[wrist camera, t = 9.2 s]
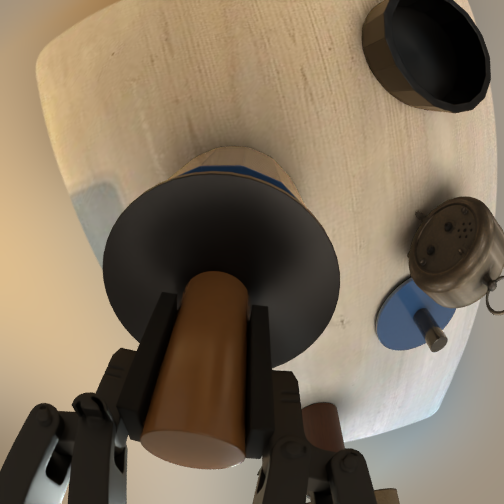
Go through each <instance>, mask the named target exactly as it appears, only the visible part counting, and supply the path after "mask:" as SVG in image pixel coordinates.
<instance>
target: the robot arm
mask: <svg viewBox="0 0 504 504" xmlns="http://www.w3.org/2000/svg"><path fill="white" fill-rule="evenodd" d="M176 313H177V294H173V293H166V292H162V293H161V295H160V297H159V299H158V302H157V304H156V306H155V309H154V311H153V313H152V316H151V318H150V320H149V323H148V325H147V327H146V330H145V332H144V334H143V337H142V339H141V342H140V344H139V347H138V349H137V351H133V350H129V349H124V348H120V349H119V350H118V351H117V352H116V353H115V354H113V356H112V358H111V360H110V362H109V364H108V367H107V369H106V371H105V374H104V376H103V378H102V380H101V382H100V384H99V387H98V389H97V391H96V394H95V393H83V394H81V395H79V396H77V397H76V398H75V399H74V401H73V403H72V406H73V408H74V410H75V411H76V412H65V411H57V409H56V408H55V407H54V406H52V405H50V404H47V403H41V404H38V405H36V406H35V407H34V408H33V409H32V411H31V412H30V414H29V416H28V417H27V419H26V421H25V423H24V425H23V427H22V429H21V430H20V432H19V434H18V436H17V438H16V440H15V442H14V444H13V446H12V448H11V450H10V452H9V454H8V456H7V458H6V460H5V462H4V464H3V466H2V469H1V471H0V504H61V502H62V500H63V497H64V494H65V491H66V489H67V486H68V483H69V493H68V504H126V503H127V501H126V500H127V498H126V484H127V482H126V481H127V445H126V441H127V437H128V435H129V437H130V439H131V440H135V441H139V442H140V434H141V430H142V426H143V422H144V419H145V415H146V411H147V408H148V404H149V401H150V397H151V394H152V390H153V387H154V383H155V380H156V377H157V373H158V370H159V367H160V363H161V360H162V357H163V354H164V350H165V347H166V344H167V341H168V338H169V335H170V332H171V328H172V325H173V322H174V319H175V316H176ZM246 443H247V445H246V458H255V459H260V458H261V457H262V467H261V468H260V470H259V472H258V474H257V475H259V477H258V482H257V486H256V491H255V495H254V500H253V504H305V503H306V495H307V491H309V494H310V500H311V504H377V501H376V497H375V493H374V489H373V485H372V482H371V478H370V475H369V471H368V468H367V464H366V461H365V459H364V457H363V455H362V454H361V453H360V452H359V451H357V450H354V449H346V448H345V449H342V450H339V451H338V452H333V451H328V450H324V449H321V448H318V447H315V446H314V445H312V444H311V443H310V442H309V441H308V440H307V438H306V436H305V433H304V426H303V418H302V410H301V402H300V394H299V386H298V381H297V379H296V377H295V376H294V374H293V373H292V371H276V370H272V362H271V345H270V328H269V312H268V306H261V305H252V309H251V314H250V319H249V340H248V388H247V437H246Z"/></svg>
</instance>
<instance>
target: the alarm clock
mask: <svg viewBox="0 0 504 504" xmlns="http://www.w3.org/2000/svg"><path fill="white" fill-rule="evenodd" d="M415 215H416V216H417V217H418V218H419V219H420V220H421V221H422V224H421V225H420V227H419V229H418V230H417V232H416V234H415V236H414V239H413V241H412V244H411V248H410V252H409V253H408V258H409V269H410V274H411V277H412V279H413V281H414V282H415V284H416V285H417V286H418V287H419V288H420V289H421V290H422V291H423V292H425V293H426V294H427V295H428V296H429V297H430V298H432V299H433V300H434V301H435V302H436V303H437V304H439V305H441V306H443V307H446V308H461V307H465V306H468V305H470V304H473V303H474V302H476V301H478V300H479V299H481V298H482V297H483V296H484V295H485V294H486V305H487V308H488V310H489V311H490V312H491V313H492V314H493V315H503V314H504V310H503V311H494V310H493V309H492V308H491V307H490V305H489V302H488V296H489V292H490V291H494V290H495V289H496V287H497V284H496V283H497V282H498V281H499V280H501V279H504V276H500V275H501V272H502V269H503V267H504V232H503V230H502V228H501V227H500V225H499V224H498V223H497V221H496V219H495V218H494V216H493V215H492V213H491V212H490V210H489V209H488V207H487V206H486V205H485V204H484V203H483V202H481V201H480V200H478V199H475V198H472V197H457V198H453V199H450V200H448V201H446V202H444V203H443V204H441V205H439V206H438V207H437V208H435V209H434V210H433V211H432V212H431V213H430V214H429V215H428V216H427V217H426V216H425V215H424V214H422V213H421V212H419V211H417V212H416V213H415ZM499 276H500V277H499Z"/></svg>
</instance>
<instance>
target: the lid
mask: <svg viewBox="0 0 504 504" xmlns="http://www.w3.org/2000/svg"><path fill="white" fill-rule="evenodd" d="M103 279H104V284H105V289H106V293H107V296H108V299H109V302H110V304H111V306H112V308H113V310H114V312H115V314H116V316H117V317H118V319H119V320H120V322H121V323H122V325H123V326H124V327H125V329H127V331H128V332H129V333H130V334H131V335H132V336H133V337H134V338H135V339H136V340H137V341H138V342H139V343H140V342H141V339H142V337H143V334H144V332H145V330H146V327H147V325H148V323H149V320H150V318H151V316H152V313H153V311H154V309H155V306H156V304H157V302H158V299H159V297H160V295H161V293H162V292H166V293H173V294H177V313H176V316H175V319H174V322H173V325H172V328H171V332H170V335H169V338H168V341H167V344H166V347H165V350H164V354H163V357H162V360H161V363H160V367H159V370H158V373H157V377H156V380H155V383H154V387H153V390H152V394H151V397H150V401H149V404H148V408H147V411H146V415H145V419H144V422H143V426H142V430H141V434H140V442H141V444H142V446H143V447H144V448H145V449H146V450H147V451H149V452H150V453H152V454H153V455H155V456H157V457H159V458H161V459H163V460H165V461H168V462H170V463H174V464H177V465H181V466H185V467H190V468H198V469H223V468H229V467H233V466H236V465H238V464H240V463H242V462H243V461H244V460H245V458H246V445H247V443H246V437H247V388H248V340H249V319H250V314H251V309H252V305H261V306H268V312H269V328H270V345H271V362H272V368H274V367H277V366H279V365H282V364H284V363H286V362H288V361H290V360H291V359H293V358H295V357H296V356H298V355H299V354H301V353H302V352H304V351H305V350H306V349H307V348H308V347H310V346H311V345H312V344H313V343H314V342H315V341H316V340H317V338H318V337H319V336H320V335H321V334H322V333H323V331H324V330H325V328H326V327H327V325H328V324H329V322H330V320H331V318H332V315H333V313H334V311H335V308H336V304H337V301H338V296H339V289H340V271H339V266H338V260H337V256H336V254H335V251H334V248H333V245H332V243H331V241H330V239H329V237H328V236H327V234H326V232H325V230H324V228H323V227H322V225H321V224H320V223H319V221H318V220H317V219H316V217H315V216H314V215H313V214H312V213H311V212H310V211H309V210H308V209H307V208H306V207H305V206H304V205H303V204H302V203H301V202H300V201H299V200H297V199H296V198H294V197H293V196H292V195H290V194H289V193H287V192H286V191H284V190H282V189H281V188H279V187H277V186H275V185H273V184H271V183H269V182H266V181H263V180H261V179H258V178H255V177H252V176H248V175H243V174H238V173H233V172H221V171H207V172H195V173H190V174H185V175H181V176H177V177H174V178H171V179H169V180H166V181H164V182H161V183H159V184H157V185H156V186H154V187H152V188H151V189H149V190H147V191H146V192H144V193H143V194H142V195H141V196H139V197H138V198H137V199H136V200H134V201H133V202H132V203H131V204H130V205H129V206H128V207H127V208H126V209H125V210H124V212H123V213H122V214H121V215H120V216H119V218H118V220H117V221H116V223H115V224H114V226H113V228H112V230H111V232H110V234H109V237H108V239H107V242H106V246H105V251H104V257H103Z"/></svg>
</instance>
